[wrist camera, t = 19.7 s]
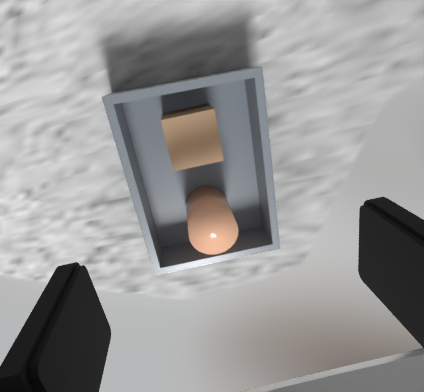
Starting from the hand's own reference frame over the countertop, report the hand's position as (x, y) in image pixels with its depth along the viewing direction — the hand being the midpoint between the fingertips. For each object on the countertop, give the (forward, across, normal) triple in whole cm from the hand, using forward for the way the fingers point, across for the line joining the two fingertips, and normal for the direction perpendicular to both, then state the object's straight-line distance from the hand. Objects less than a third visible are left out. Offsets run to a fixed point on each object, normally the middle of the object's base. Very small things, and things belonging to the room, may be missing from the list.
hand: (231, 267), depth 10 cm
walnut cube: (+25, 0, 0) cm, 25 cm away
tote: (+26, 0, +5) cm, 26 cm away
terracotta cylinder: (+25, 0, +9) cm, 27 cm away
